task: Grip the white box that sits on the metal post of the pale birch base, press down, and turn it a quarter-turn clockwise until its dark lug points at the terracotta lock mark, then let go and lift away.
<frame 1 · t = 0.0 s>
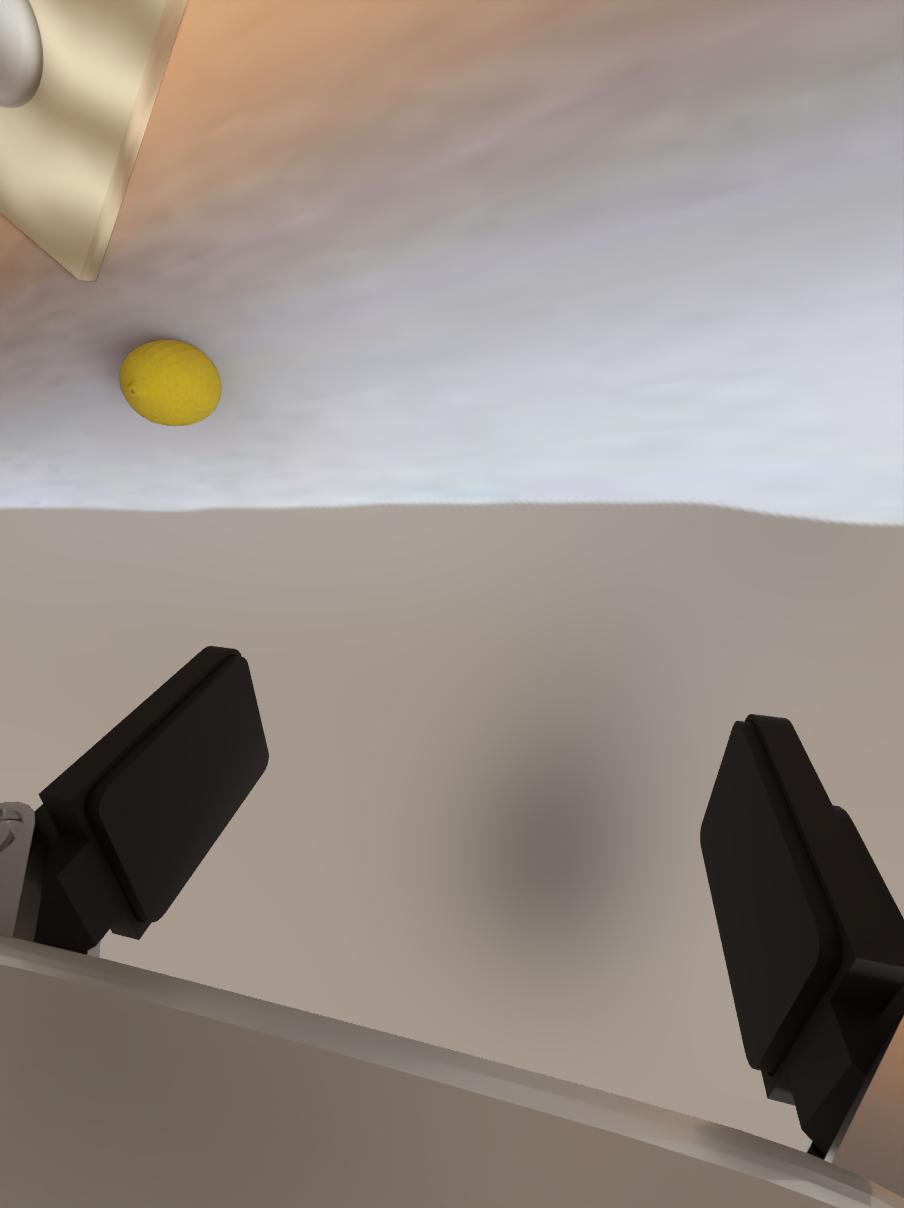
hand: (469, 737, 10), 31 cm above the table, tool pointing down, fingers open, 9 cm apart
lemon: (210, 377, 41), on the table
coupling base: (14, 43, 33), on the table
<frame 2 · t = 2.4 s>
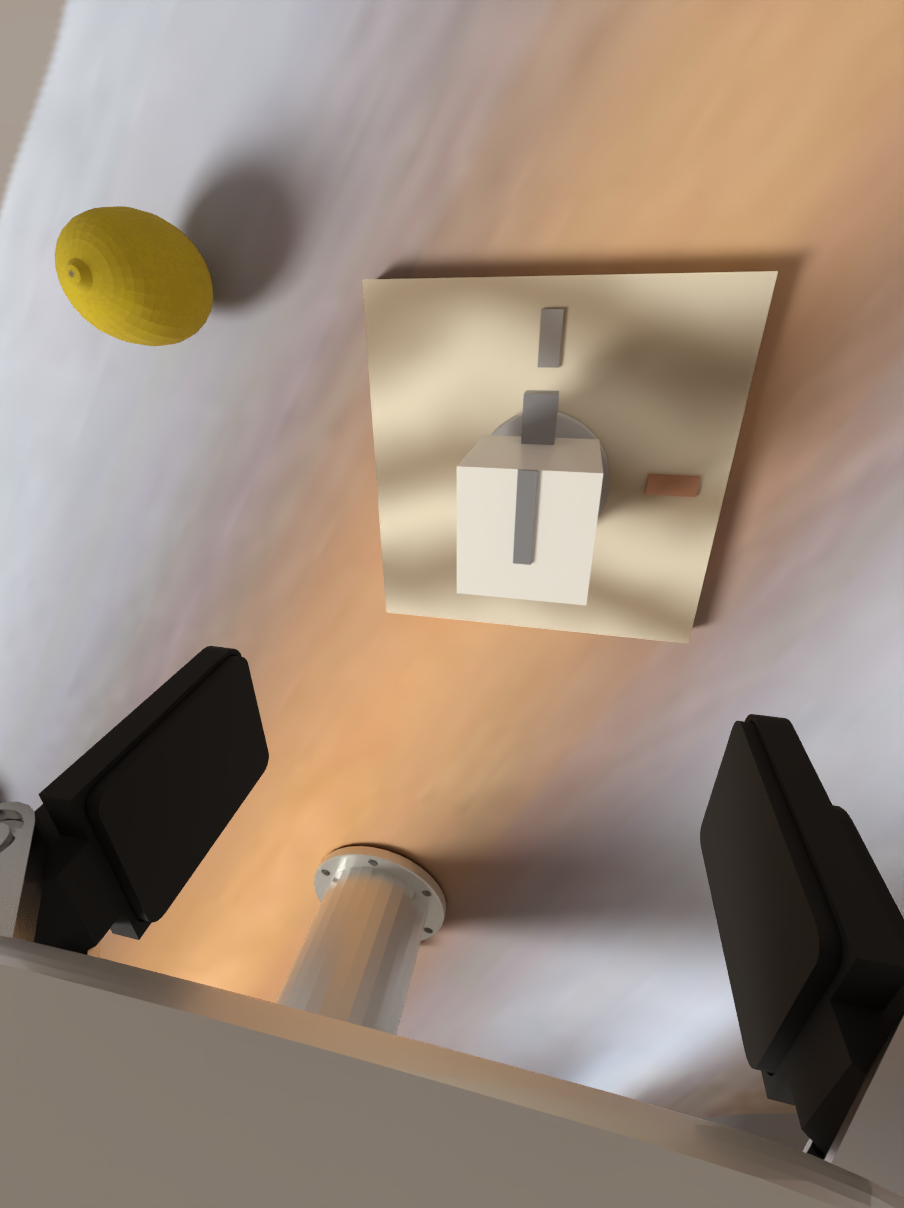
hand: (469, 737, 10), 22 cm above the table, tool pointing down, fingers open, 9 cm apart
lemon: (197, 285, 29), on the table
white box: (532, 490, 22), point 7 cm above the table, hinge at 0.0°
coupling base: (542, 471, 29), on the table
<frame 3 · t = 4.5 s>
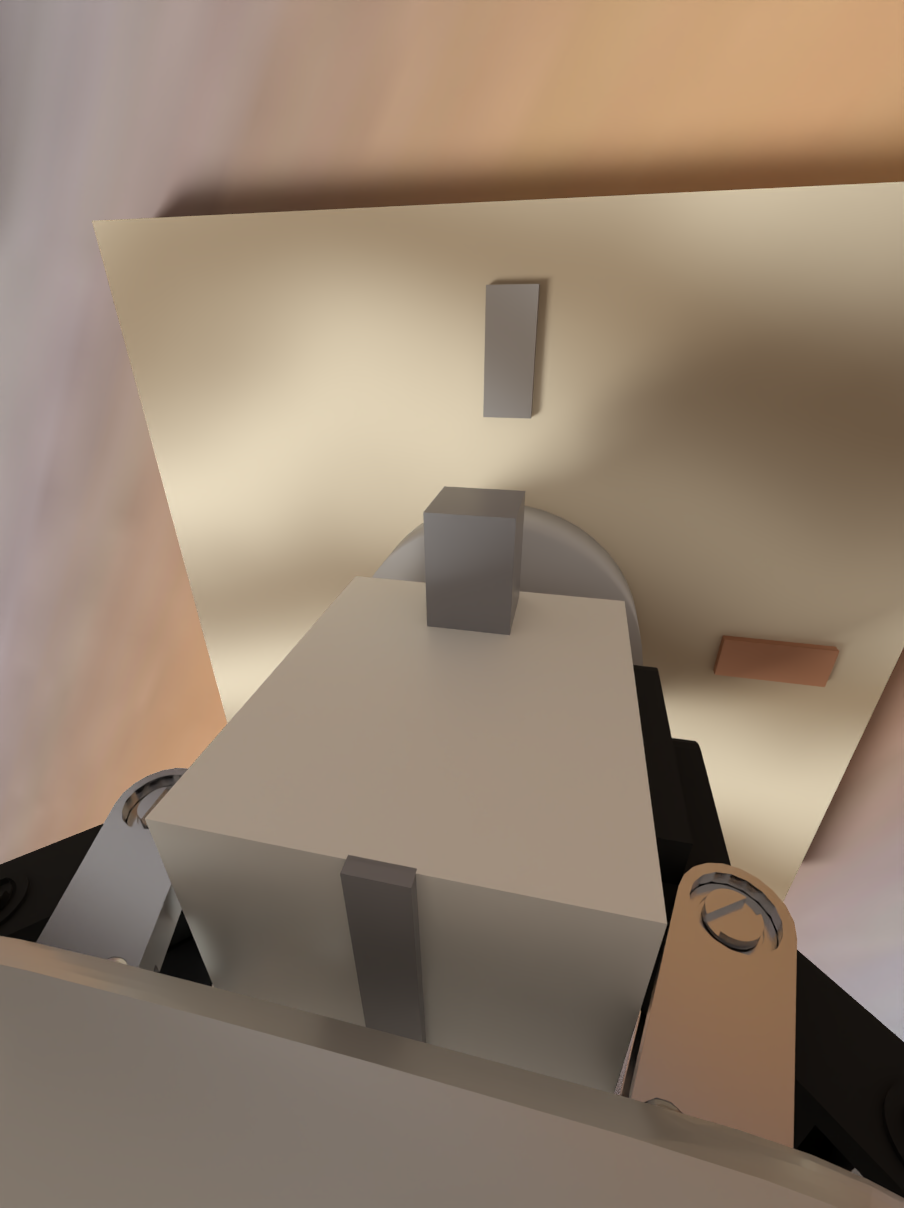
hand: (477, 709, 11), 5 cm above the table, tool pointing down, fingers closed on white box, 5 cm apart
white box: (449, 765, 8), point 7 cm above the table, hinge at 0.0°, touching gripper
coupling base: (506, 602, 15), on the table
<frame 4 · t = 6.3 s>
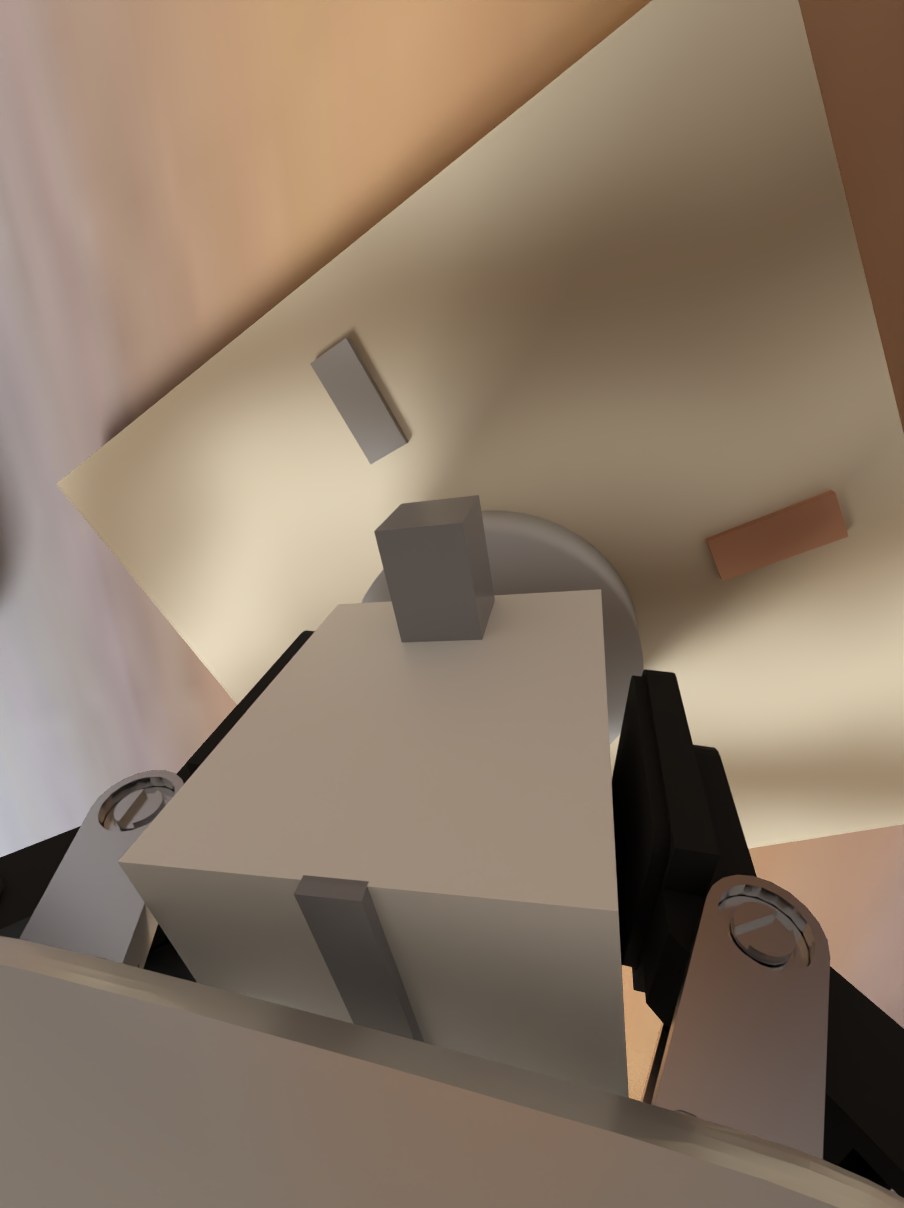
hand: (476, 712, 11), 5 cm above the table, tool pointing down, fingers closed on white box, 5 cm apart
white box: (437, 778, 8), point 7 cm above the table, hinge at -20.1°, touching gripper
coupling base: (506, 610, 15), on the table
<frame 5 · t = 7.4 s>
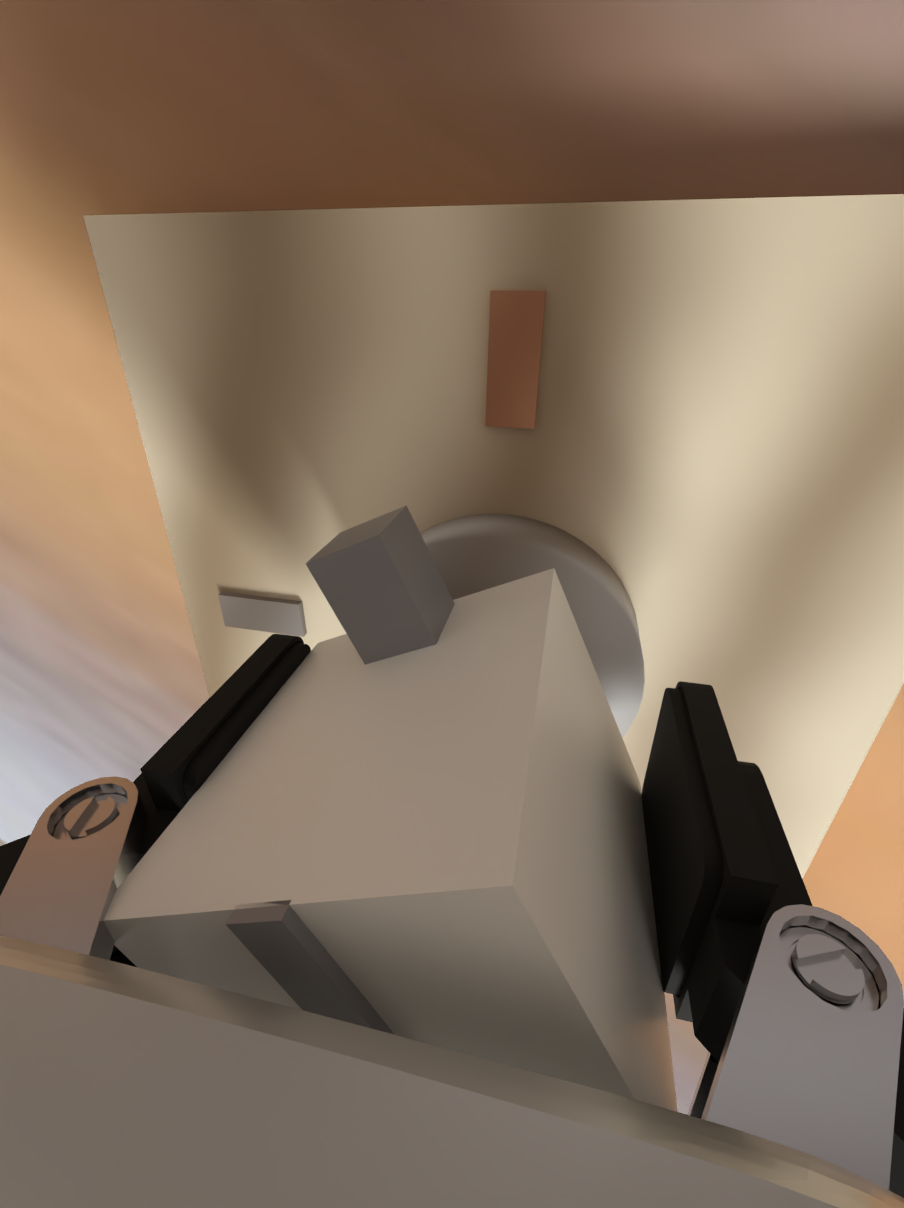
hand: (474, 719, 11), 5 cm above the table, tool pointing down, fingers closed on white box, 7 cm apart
white box: (417, 791, 8), point 7 cm above the table, hinge at -64.5°, touching gripper
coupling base: (505, 613, 15), on the table
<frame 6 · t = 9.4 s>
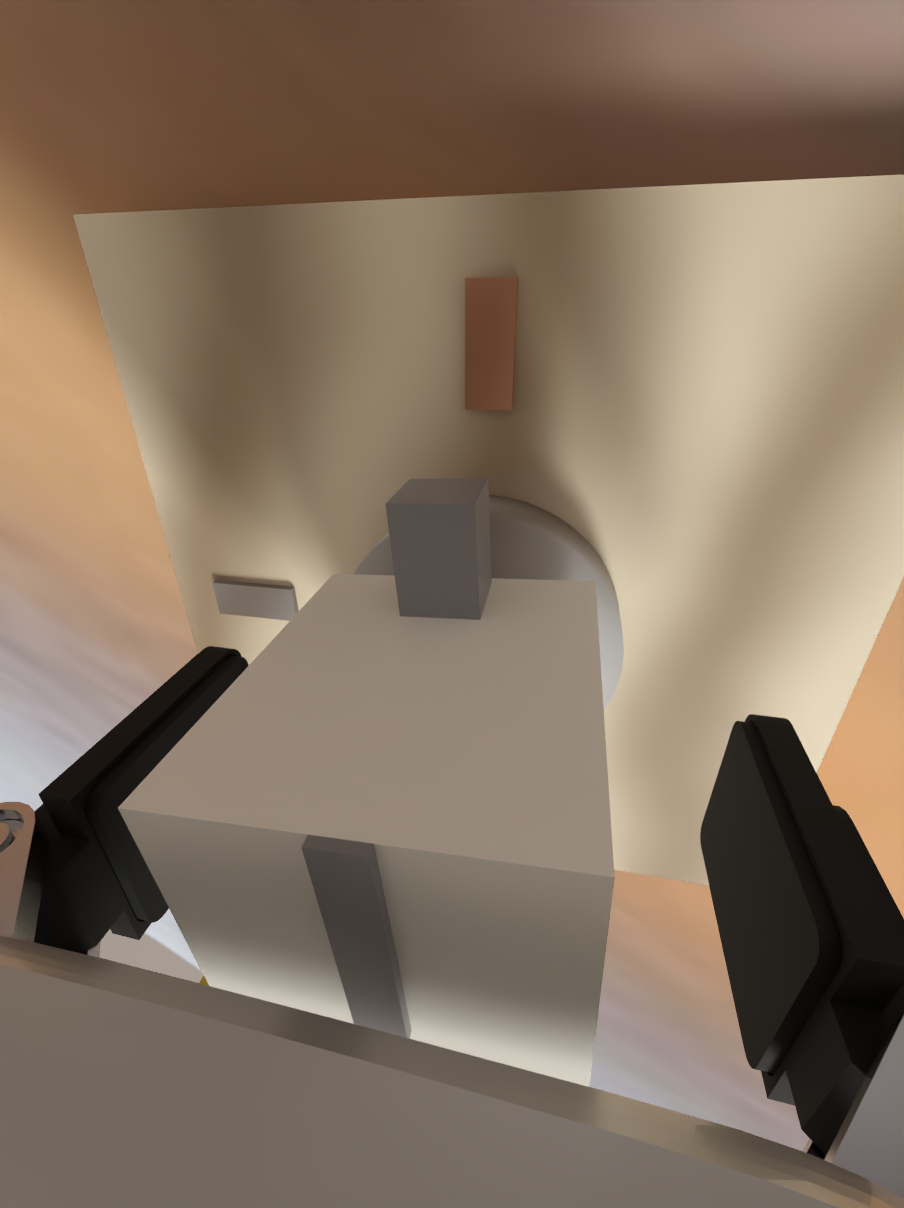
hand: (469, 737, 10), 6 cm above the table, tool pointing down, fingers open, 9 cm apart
white box: (426, 750, 9), point 7 cm above the table, hinge at -86.6°
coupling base: (491, 594, 15), on the table
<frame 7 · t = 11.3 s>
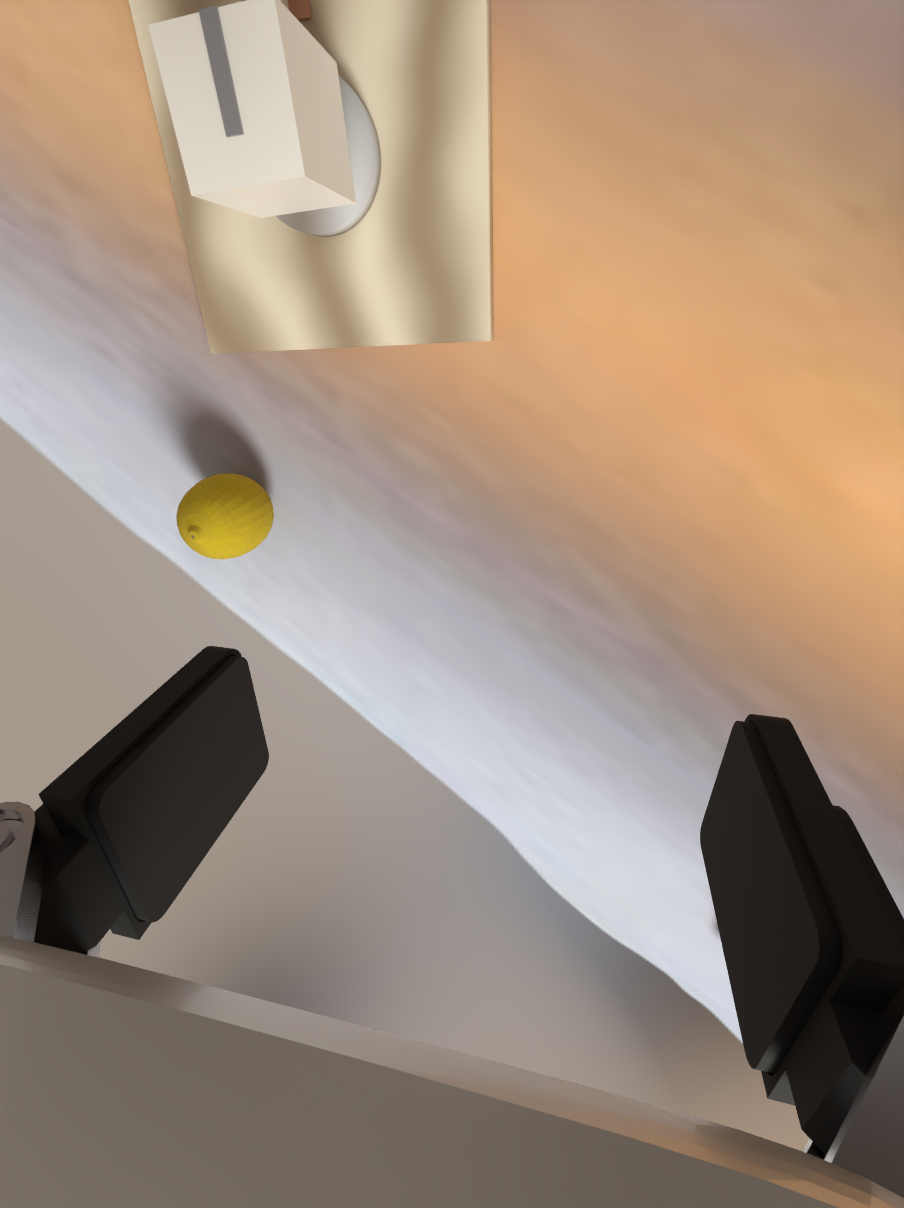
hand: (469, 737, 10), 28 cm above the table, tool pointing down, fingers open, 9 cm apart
lemon: (258, 497, 40), on the table
white box: (259, 95, 23), point 7 cm above the table, hinge at -87.6°
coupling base: (330, 166, 30), on the table
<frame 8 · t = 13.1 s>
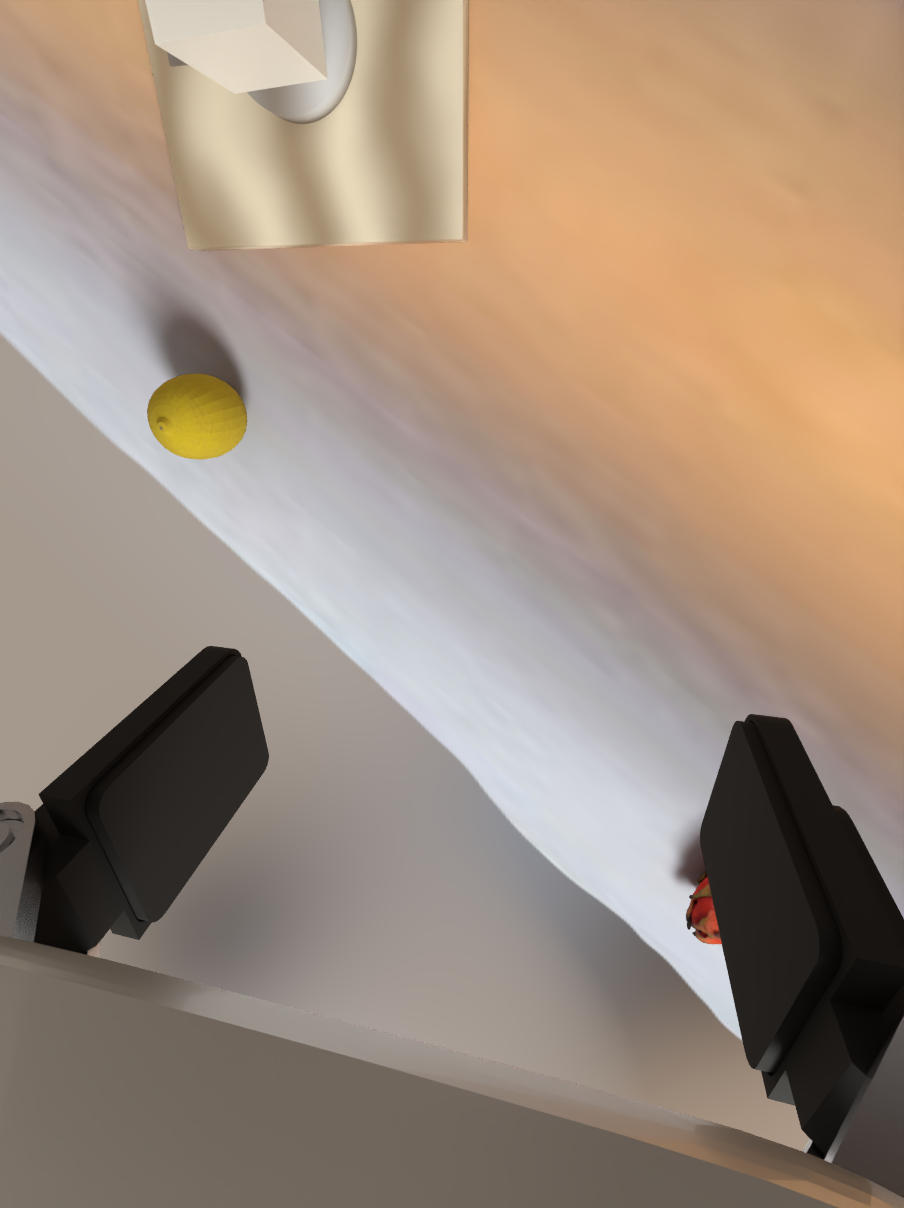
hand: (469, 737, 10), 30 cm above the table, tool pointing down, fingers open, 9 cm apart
lemon: (234, 407, 41), on the table
dragon fruit: (735, 873, 52), on the table
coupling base: (309, 51, 30), on the table
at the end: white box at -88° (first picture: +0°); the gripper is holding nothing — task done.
